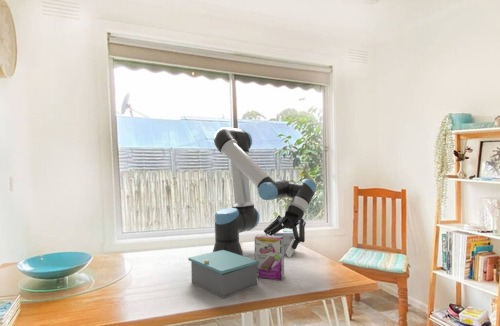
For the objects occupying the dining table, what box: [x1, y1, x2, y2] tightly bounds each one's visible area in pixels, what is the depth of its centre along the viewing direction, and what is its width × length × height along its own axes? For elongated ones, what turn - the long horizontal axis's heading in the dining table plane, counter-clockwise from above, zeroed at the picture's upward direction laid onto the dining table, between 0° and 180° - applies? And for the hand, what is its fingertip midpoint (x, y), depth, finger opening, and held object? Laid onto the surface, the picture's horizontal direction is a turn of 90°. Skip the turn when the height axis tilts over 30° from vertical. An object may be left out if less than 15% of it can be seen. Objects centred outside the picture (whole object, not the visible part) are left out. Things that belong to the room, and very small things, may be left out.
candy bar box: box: [254, 234, 285, 281], centre depth 120 cm, size 11×5×16 cm, turn 71°
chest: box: [190, 261, 258, 299], centre depth 114 cm, size 20×16×8 cm
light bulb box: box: [272, 229, 296, 255], centre depth 154 cm, size 11×7×11 cm, turn 84°
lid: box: [187, 250, 258, 274], centre depth 114 cm, size 21×17×2 cm
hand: (274, 252), depth 120 cm, fingers open, 13 cm apart
